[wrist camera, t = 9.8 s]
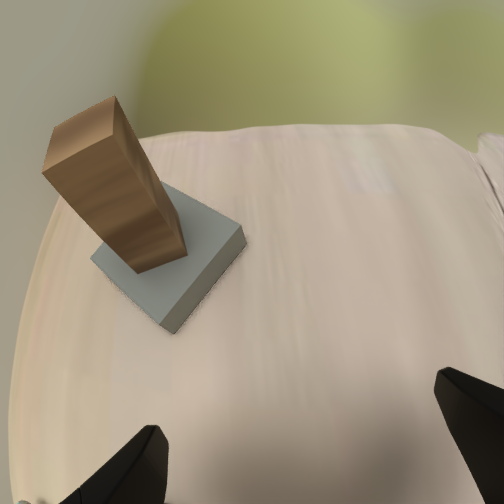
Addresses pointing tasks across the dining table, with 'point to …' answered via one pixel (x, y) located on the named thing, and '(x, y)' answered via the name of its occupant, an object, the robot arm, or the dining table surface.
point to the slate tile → (179, 263)
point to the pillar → (114, 186)
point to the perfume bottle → (23, 502)
